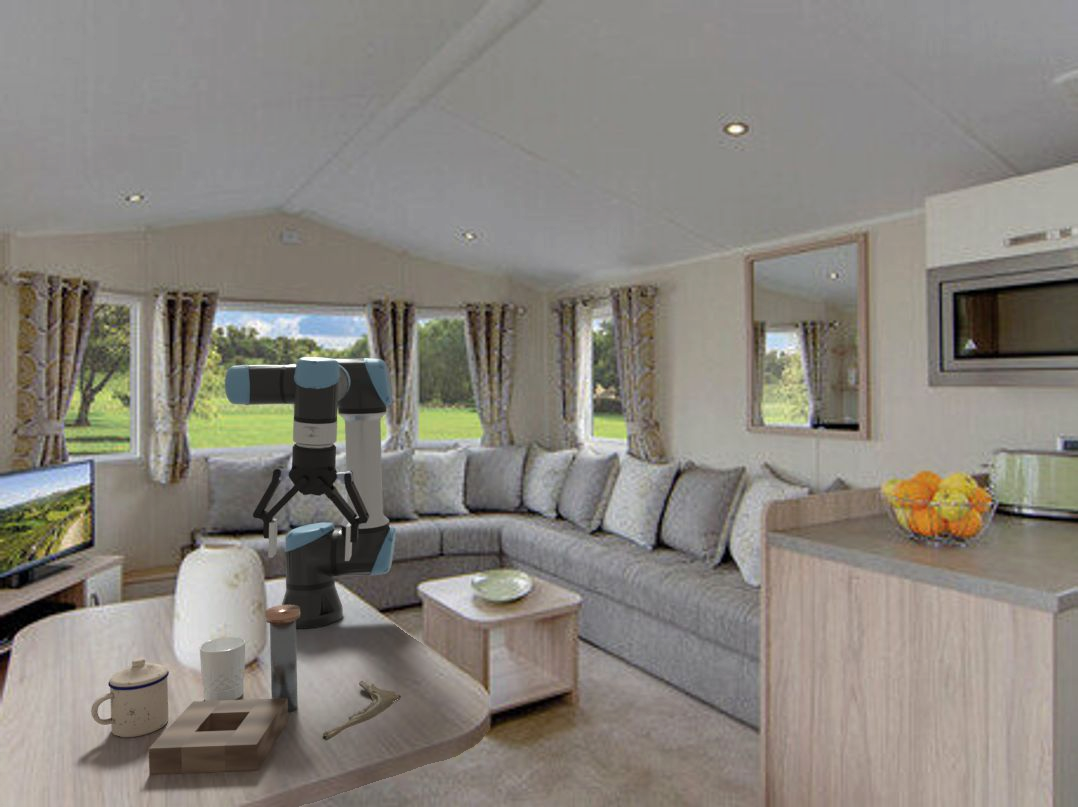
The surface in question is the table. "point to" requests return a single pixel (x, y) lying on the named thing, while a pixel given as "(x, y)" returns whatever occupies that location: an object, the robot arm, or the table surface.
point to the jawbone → (379, 704)
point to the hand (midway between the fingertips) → (310, 557)
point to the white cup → (223, 668)
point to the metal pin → (283, 652)
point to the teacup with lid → (136, 699)
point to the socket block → (219, 736)
